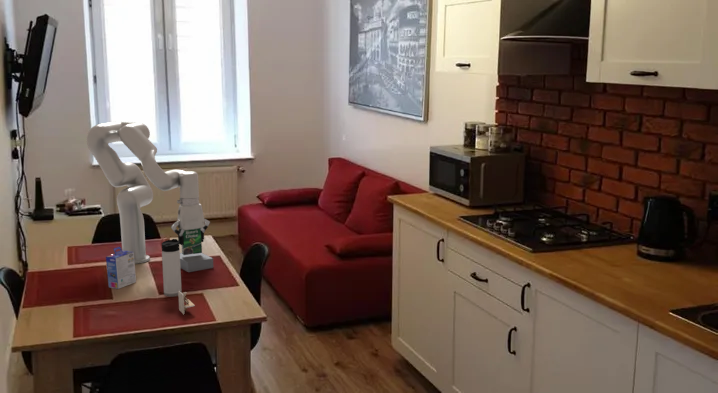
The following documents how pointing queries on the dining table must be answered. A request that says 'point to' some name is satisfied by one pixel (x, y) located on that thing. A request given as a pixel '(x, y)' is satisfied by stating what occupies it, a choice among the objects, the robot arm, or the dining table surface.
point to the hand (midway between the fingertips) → (191, 242)
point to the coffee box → (192, 242)
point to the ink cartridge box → (120, 268)
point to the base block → (195, 262)
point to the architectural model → (181, 302)
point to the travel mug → (171, 267)
